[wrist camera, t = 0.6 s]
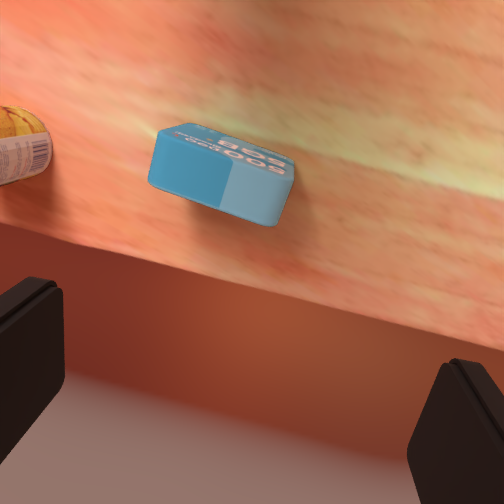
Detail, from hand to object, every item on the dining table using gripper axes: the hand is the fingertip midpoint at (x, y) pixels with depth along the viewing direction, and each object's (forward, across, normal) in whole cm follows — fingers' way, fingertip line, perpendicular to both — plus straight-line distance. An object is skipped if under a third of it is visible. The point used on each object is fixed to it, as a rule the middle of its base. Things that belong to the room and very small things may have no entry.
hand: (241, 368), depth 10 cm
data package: (+36, +5, +1) cm, 37 cm away
